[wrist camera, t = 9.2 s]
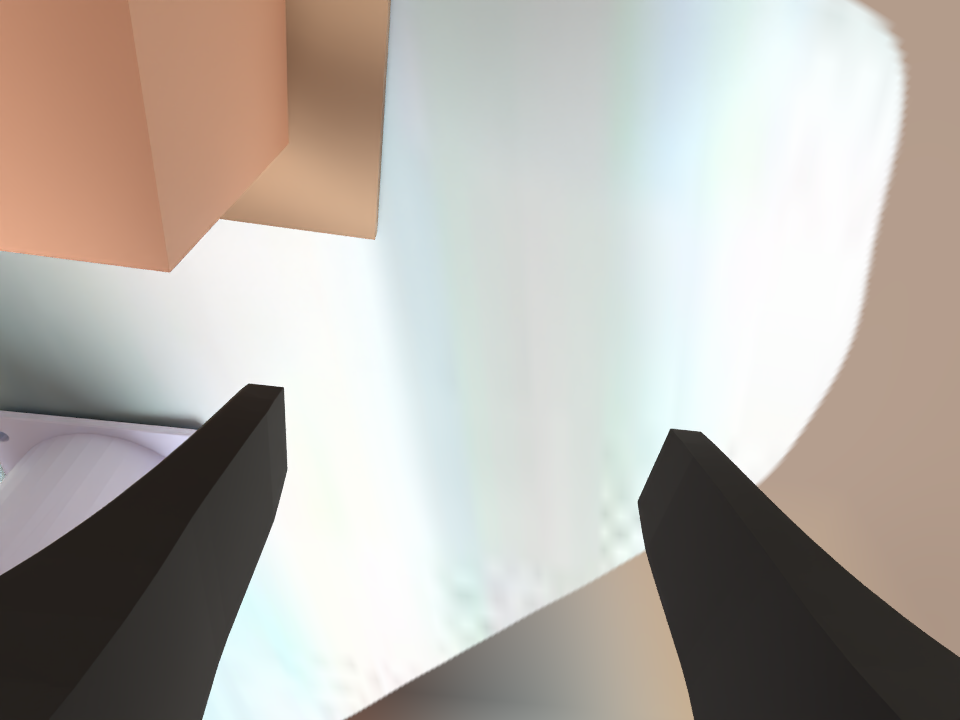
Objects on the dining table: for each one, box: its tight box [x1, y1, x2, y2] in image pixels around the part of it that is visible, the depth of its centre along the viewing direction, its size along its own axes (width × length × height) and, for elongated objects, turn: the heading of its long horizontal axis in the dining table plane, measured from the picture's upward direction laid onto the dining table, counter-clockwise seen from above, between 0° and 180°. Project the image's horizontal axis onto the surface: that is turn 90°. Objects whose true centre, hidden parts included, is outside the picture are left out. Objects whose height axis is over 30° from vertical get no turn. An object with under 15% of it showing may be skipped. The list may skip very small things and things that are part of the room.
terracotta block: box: [0, 0, 289, 272], centre depth 11 cm, size 5×5×8 cm
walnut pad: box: [220, 0, 391, 240], centre depth 15 cm, size 10×10×1 cm
